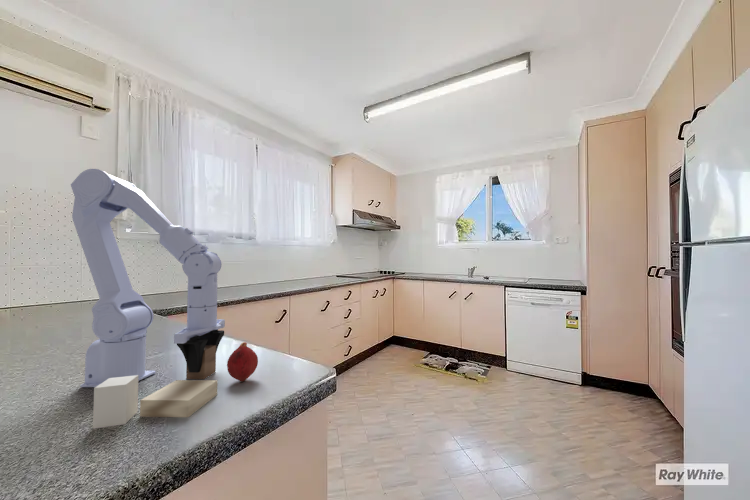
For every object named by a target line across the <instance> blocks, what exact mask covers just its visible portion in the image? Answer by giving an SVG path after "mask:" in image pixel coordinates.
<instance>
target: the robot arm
mask: <svg viewBox="0 0 750 500" xmlns="http://www.w3.org/2000/svg"><path fill="white" fill-rule="evenodd" d="M70 187H71V190H72V192H73V193H72V194H73V197H74V201H73V207H72V212H71V213H72V214H71V218H72V222H73V224H74V227H75V230H76V233H77V236H78V240H79V241H80V245H81V248H82V251H83V253H84V254H83V255H84V257H85V259H86V262H87V265H88V268H89V271H90V273H91V277H92V279H93V282H94V285H95V287H96V291H97V294H98V296H99V299H98V300H97V301H96V302H95V304H93V307H91V311H92V315H93V318H92V319H93V321H92V323H91V327H92V332H93V334H94V335H95V336H96V337H97V338H98V339H96V340H94V341H93V342H92V343H91V344H90V345H89V346H88V348H87V349H86V353H85V357H84V358H85V359H84V360H85V361H84V362H85V363H84V365H85V366H84V383H81V384H80V385H79V387H80V388H95V387H97V386H98V385H100V384H101V383H103V382H104V381H106V380H107V379H109V378H115V377H125V376H134V375H139V376H138V382H139V381H141V380H143V379H146V378H148V377H150V376H152V375H154V374H156V373H157V371H156V370H146V359H147V358H146V355H147V353H146V351H147V332H148V331H147V330H148V329H147V328H149V327H150V326H151V324H152V323H153V321H154V317H155V316H154V311H153V310H152V308H151V307H150V306H149V305H148V304H147V303H146V302H145V300H144V297H143V296H142V295H141V294H140V293H138V292H137V291H135V290H134V289H133V286H132V284H131V281H130V278H129V275H128V271H127V269H126V266H125V263H124V260H123V258H122V255H121V251H120V249H119V245H118V243H117V239H116V236H115V233H114V230H113V228H112V226H111V225H112V224H111V222H112V221H113V220H114V219H115V218H116V217H117V216H119V215H120V214H121V213H124V212H125V211H127V210H128V209H129V210H131V212H134V214H136V215H137V216H138V217H139V218H140V219H142V220H143V221H144V222H145V223H146V224H147V225H148V226H149V227H150V228H152V229H153V231H155V232H156V233H157V234H158V235H159V239H158V240H159V244H160V245H161V246H163V248H165V250H166V251H167V252H169V253H170V254H171V255H172V256H173V257H174V258H175V259H176V260H177V261H178V262H179V263H180V264H181V265H182V266H181V267H182V271H183V273H184V274H185V275H186V276H187V305H186V306H187V308H186V309H187V310H186V326H185V327H184V328H183V329H181V330H179V331H178V332H175V333H174V334H173V344H176V346H177V347H178V349H180V351H181V353H182V354H183V356H184V359H185V361H186V362H185V363H186V367H188V370H189V372H197V373H198V372H200V370H201V366H202V357H203V352H204V348H205V346H206V345H216V352H217V351H218V347H219V346H220V345H219V344H220V342H221V341H222V338H223V337H224V336H225V330H220V329H223V328H226V327H225V323H226V320H225V319H220V318H219V319H217V318H218V274H219V272H220V271H221V268H222V260H221V258H220V257H219V256H218V254H217V253H216V252H213V251H208V249H209V246H207V244H202V243H201V241H199V240H198V239H197V238H196V237H195V236H194V235H193V234H194V231H193V230H192V229H191V228H189V227H184V226H182V225H175V224H173V223H172V222H171V221H170V220H169V219H168V217H166V215H165V214H164V213H163V212H162V211H161V210H160V209H159V208H158V207H157V206H156V205H155V204H154V203H153V201H152V200H151V199H150V198H149V197H148V196H147V195H146V194H145V192H144V191H143V190H142V189H140V188H138V187H137V186H136V185H135V184H134V183H132V182H131V181H129V180H124V179H123V178H119V177H116V176H114V175H113V174H109V173H107V172H106V171H104V170H102V169H99V168H89V169H86V170H83V171H82V172H79V174H78V175H77V176H76V178H75V179H74V180H73V181H72V183H70Z"/></svg>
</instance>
